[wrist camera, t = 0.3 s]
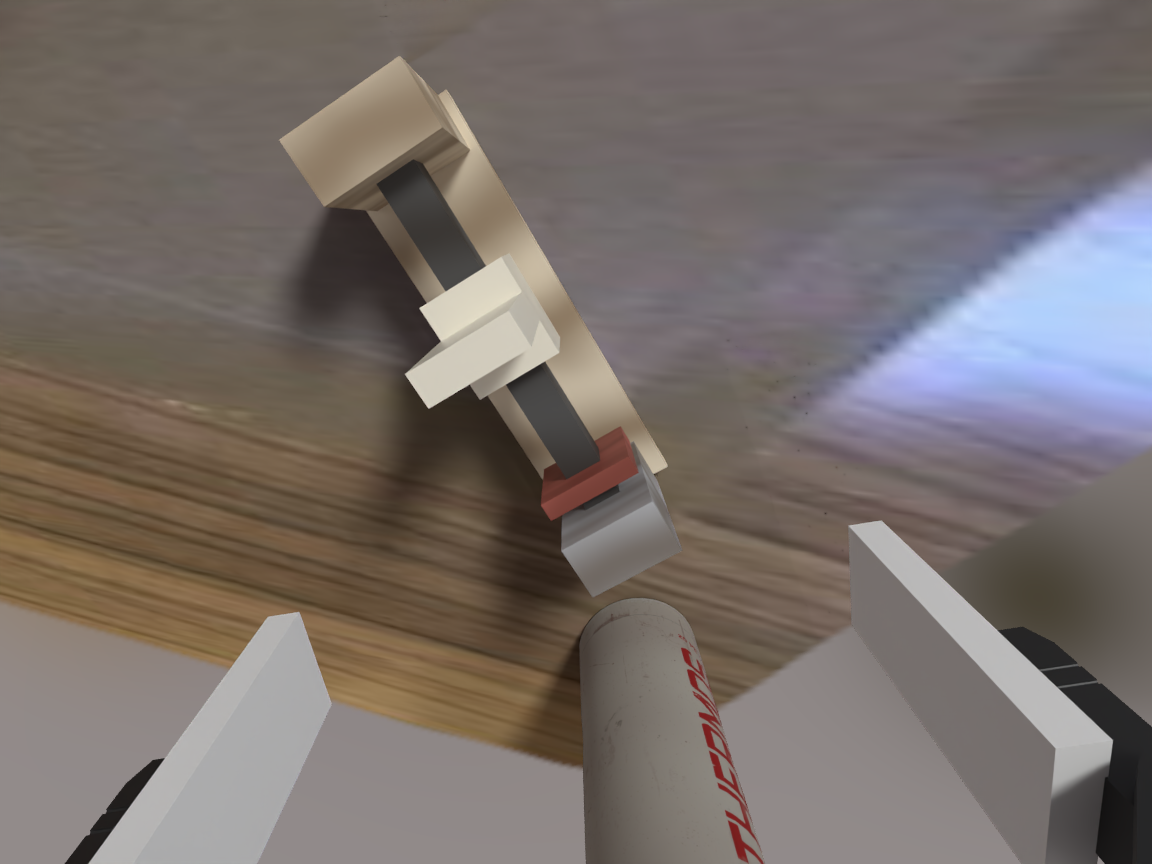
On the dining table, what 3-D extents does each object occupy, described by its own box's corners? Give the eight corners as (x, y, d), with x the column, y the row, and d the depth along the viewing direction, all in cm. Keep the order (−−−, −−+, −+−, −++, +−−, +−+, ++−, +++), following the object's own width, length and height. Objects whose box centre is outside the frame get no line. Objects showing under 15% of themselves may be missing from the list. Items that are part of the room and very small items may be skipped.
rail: (342, 166, 35) (258, 143, 26) (449, 93, 34) (403, 41, 25) (573, 519, 42) (575, 606, 32) (669, 467, 41) (700, 540, 31)
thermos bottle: (677, 583, 43) (858, 1162, 16) (707, 678, 45) (908, 1321, 19) (564, 615, 44) (559, 1225, 17) (598, 708, 46) (643, 1371, 19)
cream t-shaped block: (437, 298, 34) (375, 332, 23) (509, 253, 33) (481, 266, 22) (490, 379, 35) (455, 447, 24) (560, 337, 34) (557, 388, 23)
